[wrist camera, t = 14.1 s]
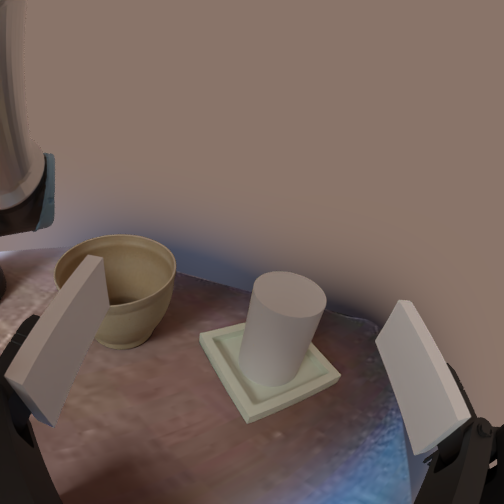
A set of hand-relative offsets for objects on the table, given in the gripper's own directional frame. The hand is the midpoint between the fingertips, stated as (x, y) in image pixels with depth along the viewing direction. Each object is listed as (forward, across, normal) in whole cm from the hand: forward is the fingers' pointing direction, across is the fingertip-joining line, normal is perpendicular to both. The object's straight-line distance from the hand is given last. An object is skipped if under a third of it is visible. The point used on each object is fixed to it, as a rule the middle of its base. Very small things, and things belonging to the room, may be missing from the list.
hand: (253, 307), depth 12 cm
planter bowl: (+19, -15, -24) cm, 34 cm away
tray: (+16, +6, -23) cm, 29 cm away
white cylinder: (+15, +6, -23) cm, 28 cm away
